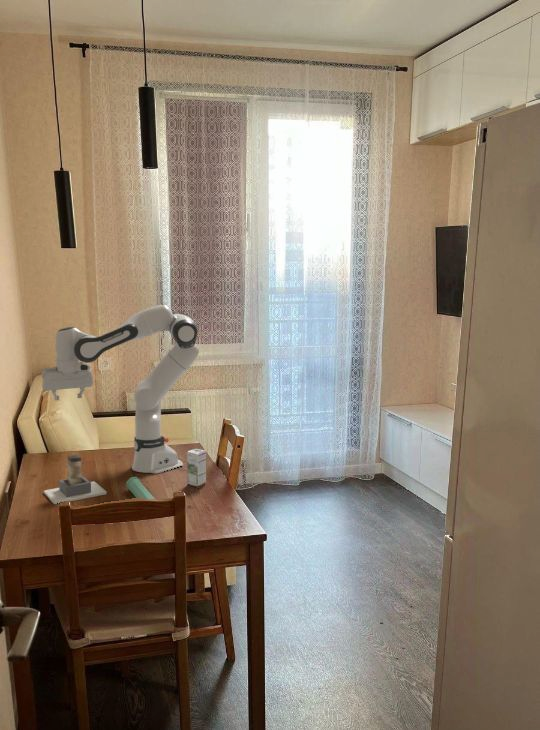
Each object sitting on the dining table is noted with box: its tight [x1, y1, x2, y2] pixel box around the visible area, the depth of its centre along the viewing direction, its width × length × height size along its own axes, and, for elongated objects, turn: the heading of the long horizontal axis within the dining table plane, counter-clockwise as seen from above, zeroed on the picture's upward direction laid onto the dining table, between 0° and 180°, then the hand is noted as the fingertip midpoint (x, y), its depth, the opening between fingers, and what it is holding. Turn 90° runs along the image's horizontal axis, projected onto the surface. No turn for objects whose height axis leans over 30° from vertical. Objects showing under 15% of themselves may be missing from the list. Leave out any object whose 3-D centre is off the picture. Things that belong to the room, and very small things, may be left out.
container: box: [126, 476, 155, 499], centre depth 229 cm, size 6×6×25 cm
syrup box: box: [186, 448, 207, 486], centre depth 247 cm, size 6×6×14 cm
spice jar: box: [67, 454, 83, 486], centre depth 234 cm, size 4×4×14 cm
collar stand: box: [43, 475, 108, 505], centre depth 234 cm, size 20×14×5 cm
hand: (68, 399), depth 250 cm, fingers open, 8 cm apart
